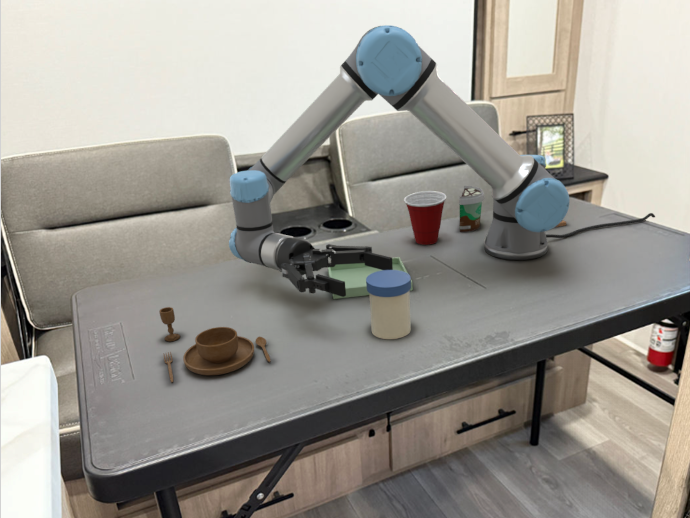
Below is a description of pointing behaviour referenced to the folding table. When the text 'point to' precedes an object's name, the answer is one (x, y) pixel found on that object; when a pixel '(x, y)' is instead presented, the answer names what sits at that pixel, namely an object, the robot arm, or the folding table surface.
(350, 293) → the tray
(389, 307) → the jar
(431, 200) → the plastic cup
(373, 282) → the lid
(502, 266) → the folding table surface
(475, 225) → the food container
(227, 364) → the place setting
